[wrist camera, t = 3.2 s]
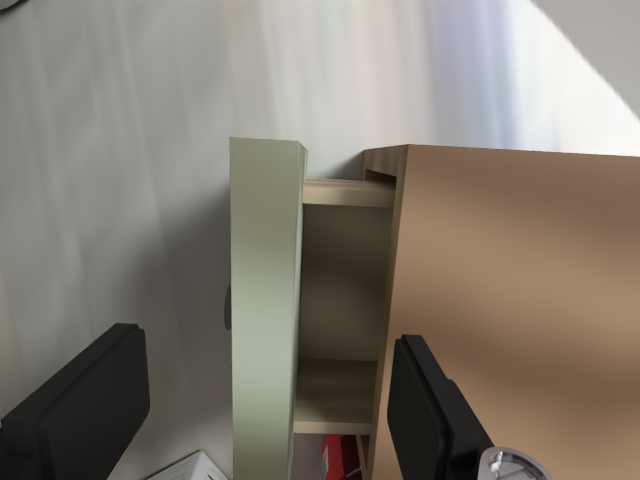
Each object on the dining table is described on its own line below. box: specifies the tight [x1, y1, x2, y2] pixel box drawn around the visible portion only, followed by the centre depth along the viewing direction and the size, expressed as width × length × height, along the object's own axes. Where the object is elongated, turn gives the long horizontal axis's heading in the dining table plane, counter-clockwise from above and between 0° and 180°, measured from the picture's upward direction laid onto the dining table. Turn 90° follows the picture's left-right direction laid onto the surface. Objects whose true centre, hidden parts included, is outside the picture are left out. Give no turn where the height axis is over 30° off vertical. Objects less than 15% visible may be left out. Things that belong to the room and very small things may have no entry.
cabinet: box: [356, 144, 640, 480], centre depth 16 cm, size 14×12×9 cm
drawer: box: [224, 137, 396, 480], centre depth 14 cm, size 14×14×12 cm
